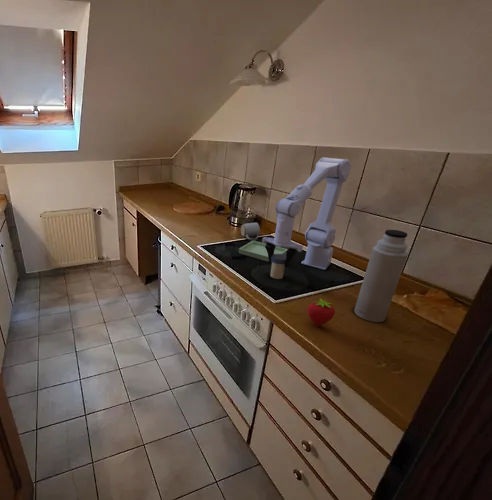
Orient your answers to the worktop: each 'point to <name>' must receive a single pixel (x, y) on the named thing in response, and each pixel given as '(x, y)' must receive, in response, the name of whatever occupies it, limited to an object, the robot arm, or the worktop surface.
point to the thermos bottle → (382, 276)
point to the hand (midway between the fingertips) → (278, 263)
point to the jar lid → (278, 258)
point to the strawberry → (321, 312)
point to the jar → (277, 270)
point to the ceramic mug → (250, 230)
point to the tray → (259, 250)
